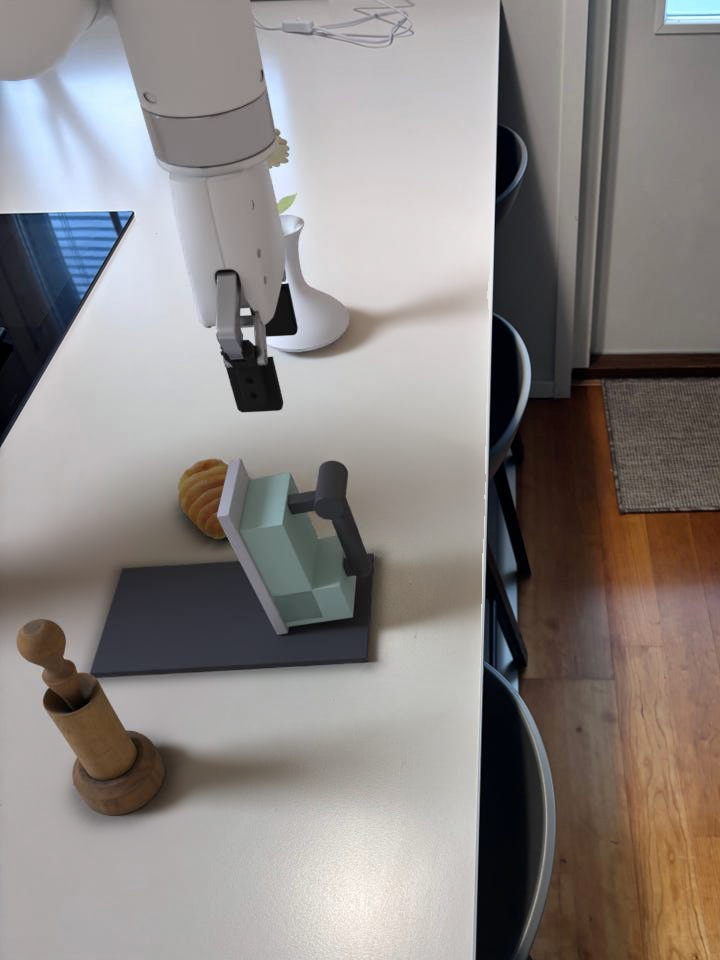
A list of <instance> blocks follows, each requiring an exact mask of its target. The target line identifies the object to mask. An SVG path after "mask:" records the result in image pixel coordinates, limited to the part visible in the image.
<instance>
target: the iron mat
mask: <svg viewBox="0 0 720 960" xmlns="http://www.w3.org/2000/svg"><path fill="white" fill-rule="evenodd" d="M367 554H368V557H369V560H370V563H371V566H372V570H371V572H370V574H369V575H368V576H367V577H364V578H358V577H356V586H355V598H354V610H353V617H351V618H344V619H338V620H331V621H324V622H317V623H311V624H304V625H297V626H290V627H289V629H288V633H287V634H280V635H277V633H276V631H275V629H274V627H273V625H272V623H271V621H270V619H269V617H268V615H267V614H266V612H265V610H264V608H263V606H262V604H261V602H260V600H259V598H258V596H257V594H256V592H255V590H254V588H253V586H252V584H251V582H250V580H249V578H248V576H247V575H246V573H245V571H244V569H243V567H242V565H241V563H240V561H239V560H238V561H237V560H236V561H220V562H203V563H187V564H169V565H167V564H166V565H154V566H136V567H135V566H134V567H122V568H121V571H120V574H119V578H118V581H117V584H116V588H115V589H114V590H115V591H114V594H113V597H112V600H111V603H110V607H109V610H108V613H107V617H106V619H105V623H104V626H103V629H102V632H101V635H100V639H99V642H98V645H97V648H96V652H95V655H94V658H93V662H92V665H91V667H90V671H89V674H91V675H93V676H94V677H95V678H105V677H106V678H107V677H120V676H121V677H122V676H139V675H142V676H143V675H159V674H175V673H191V672H192V673H194V672H210V671H211V672H212V671H213V672H214V671H228V670H243V669H244V670H246V669H247V670H248V669H249V670H250V669H263V668H282V667H300V666H317V665H318V666H319V665H335V664H354V663H367V662H369V661H368V660H369V647H370V646H369V645H370V631H371V616H372V615H371V614H372V599H373V588H374V570H375V569H374V568H375V554H374V553H373V552H372V553H370V552H369V553H367Z"/></svg>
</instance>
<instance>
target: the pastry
mask: <svg viewBox="0 0 720 960" xmlns="http://www.w3.org/2000/svg"><path fill="white" fill-rule="evenodd" d="M228 466H229V463H226V462H224V461H223V460H222V459H218V458H207V459H202V460H200V461H197V462H195V463H194V464H192V466H191V467H189V468H187V469H185V470H184V472H183V473H182V475H181V476H180V478H179V482H178V484H177V485H178V486H177V489H178V497H177V498H178V501H177V502H178V505H179V506H180V507H181V508H182V510H183V512H184V513H185V515H186V516H187V518H188V519H189V520H190V521H191V522H192V523H193V524H194V525H195V527H197V528H198V529H199V530H200V531H201V532H202V533H203V534H204V535H205V536H207V537H210V538H212V539H214V540H222V539H224V538H228V537H227V535H226V534H225V532H224V530H223V528H222V526H221V524H220V522H219V520H218V518H217V514H218V509H219V505H220V501H221V496H222V492H223V488H224V483H225V479H226V475H227V470H228Z"/></svg>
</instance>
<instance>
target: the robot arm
mask: <svg viewBox="0 0 720 960" xmlns="http://www.w3.org/2000/svg"><path fill="white" fill-rule="evenodd" d="M107 18H110V19H111V18H112V19H114V20H115V22H116V25H117V29H118V32H119V36H120V39H121V43H122V46H123V50H124V53H125V57H126V61H127V63H128V67H129V71H130V74H131V78H132V81H133V84H134V89H135V91H136V95H137V98H138V102H139V106H140V109H141V112H142V116H143V119H144V123H145V126H146V129H147V134H148V137H149V141H150V143H151V148H152V151H153V154H154V157H155V161H156V163H157V165H158V166H159V167H160V168H161V169H162V170H164V171H165V172H168V173H169V177H168V178H169V186H170V187H169V188H170V193H171V201H172V206H173V212H174V218H175V223H176V229H177V234H178V239H179V243H180V247H181V252H182V256H183V260H184V264H185V268H186V272H187V277H188V281H189V285H190V289H191V293H192V294H191V295H192V298H193V301H194V306H195V310H196V314H197V318H198V320H199V323H200V324H201V325H202V326H203V327H204V328H206V329H211V328H212V327H215V336H216V340H217V343H218V344H219V346H220V347H219V349H220V350H221V351H219V352H220V355H221V356H222V361H223V365H224V367H225V370H226V372H227V377H228V380H229V384H230V387H231V391H232V395H233V398H234V402H235V405H236V406H235V407H236V409H237V410H238V411H239V412H240V413H260V412H262V413H263V412H279V411H281V410H282V409H283V408H284V398H283V393H282V391H281V386H280V382H279V377H278V373H277V369H276V363H275V360H274V356H268V346H267V343H266V337H271V336H290V335H295V334H296V333H297V330H298V326H297V321H296V316H295V312H294V307H293V302H292V297H291V292H290V287H289V283H285V284H283V282H286V271H285V260H286V255H285V245H284V238H283V232H282V226H281V221H280V214H279V211H278V207H277V203H278V202H277V198H276V194H275V189H274V185H273V181H272V180H273V179H272V176H271V172H270V169H269V167H268V163H267V159H268V158H269V157H270V156H271V155H272V154H273V153H274V152H275V151H276V149H277V146H278V142H277V137H276V131H275V128H276V127H275V122H274V118H273V117H274V116H273V111H272V106H271V100H270V95H269V91H268V90H269V89H268V86H267V81H266V75H265V71H264V70H265V69H264V65H263V60H262V55H261V54H262V53H261V49H260V45H259V44H260V43H259V40H258V33H257V29H256V25H255V24H256V23H255V17H254V13H253V8H252V3H251V0H0V81H1V82H20V81H21V82H22V81H26V80H27V81H28V80H31V79H32V80H33V79H37V78H38V77H41V76H43V75H45V74H47V73H49V72H51V71H52V70H54V69H55V68H56V67H57V66H58V65H60V63H61V62H62V61H63V60H64V59H65V58H66V57H67V55H68V54H69V52H70V51H71V50H72V49H73V48H74V46H75V45H76V44H77V42H78V41H79V40H80V38H82V36H83V35H84V34H85V33H86V32H88V31H89V30H91V29H92V28H94V27H95V26H97V25H99V23H101V22H103V21H104V20H106V19H107ZM241 309H249V312H250V314H247V315H241ZM246 328H247V329H248V328H253V336H254V343H252V341H250V340H249V339H244V334H243V331H242V329H246Z"/></svg>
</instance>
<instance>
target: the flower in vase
mask: <svg viewBox="0 0 720 960" xmlns="http://www.w3.org/2000/svg"><path fill="white" fill-rule="evenodd" d="M275 131H276V137H277V142H278V146H277V149H276V151H275V152H274V153H273V154H272V155H271V156H270V157H269V158H268V159H267V163H268V167H269V170H271V169H272V168H273V167H274V168H279V167H280V166H281V164H288V163H289V159H288V157H290V153H289V151H290V150H291V147H290V146H289V145H288V141H287V139H285V138H282V137H281V136H280V135H281V134H282V133H281V131H280V129H279V128H276V127H275ZM297 195H298V192H296V193H295V194H292V195H286V196H284V197H281V199H279V200H278V202H277V207H278V211H279V216H280V221H281V226H282V232H283V238H284V245H285V255H286V260H285V271H286V282H282V284H285V283H289V287H290V292H291V297H292V302H293V307H294V312H295V316H296V321H297V326H298V330H297V333H296V334H295V335H290V336H271V337H266V343H267V347H269V348H271V349H273V350H276V351H279V352H287V353H303V352H309V351H314V350H317V349H320V348H323V347H326V346H329V345H331V344H332V343H334V342H336V341H337V340H339V338H341V337H342V336H343V335H344V333H345V332H346V330H347V328H348V326H349V324H350V320H351V317H350V312H348V309H347V308H346V306H345V305H344V304H343V302H341V301H339V299H337V298H335V297H334V296H332V295H330V293H329V294H328V293H326V292H324V291H322V290H320V289H317V288H314V287H313V286H310V285H309V284H308V283H307V282H306V281H305V277H304V275H303V273H302V268H301V260H300V254H299V253H300V252H299V251H300V250H299V243H300V242H299V241H300V236H301V233H302V231H303V229H304V227H305V220H304V219H303V218H302V217H300V216H297V215H294V214H293V215H292V214H283V213H284V212H286V211H287V210H288V209H289V208H290V207H291V206H292V205H293V203H294V202H295V199H296V197H297Z"/></svg>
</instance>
